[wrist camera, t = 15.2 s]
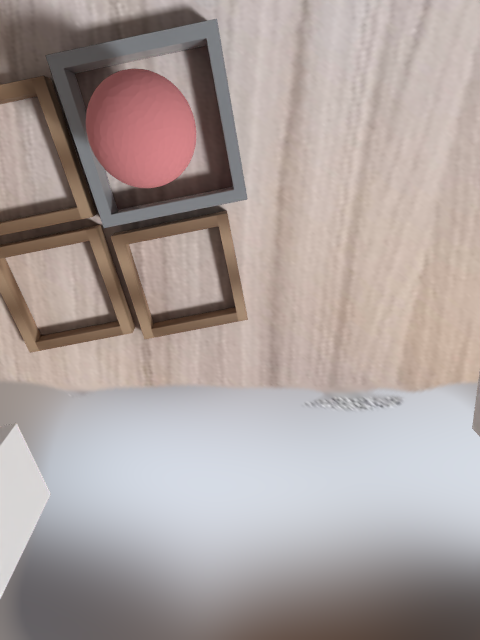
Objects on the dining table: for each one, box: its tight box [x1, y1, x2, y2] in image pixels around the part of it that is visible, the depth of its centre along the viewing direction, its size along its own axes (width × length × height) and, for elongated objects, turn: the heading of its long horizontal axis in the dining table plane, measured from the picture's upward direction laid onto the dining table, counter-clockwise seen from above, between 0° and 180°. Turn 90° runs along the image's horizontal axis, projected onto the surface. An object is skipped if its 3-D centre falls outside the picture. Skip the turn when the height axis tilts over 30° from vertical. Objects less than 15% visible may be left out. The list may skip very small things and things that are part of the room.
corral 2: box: [0, 225, 135, 352], centre depth 38 cm, size 11×11×2 cm
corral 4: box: [111, 211, 248, 339], centre depth 38 cm, size 11×11×2 cm
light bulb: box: [86, 69, 196, 188], centre depth 28 cm, size 7×7×12 cm
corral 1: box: [0, 76, 97, 236], centre depth 33 cm, size 11×11×2 cm
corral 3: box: [46, 19, 247, 228], centre depth 32 cm, size 13×13×2 cm
